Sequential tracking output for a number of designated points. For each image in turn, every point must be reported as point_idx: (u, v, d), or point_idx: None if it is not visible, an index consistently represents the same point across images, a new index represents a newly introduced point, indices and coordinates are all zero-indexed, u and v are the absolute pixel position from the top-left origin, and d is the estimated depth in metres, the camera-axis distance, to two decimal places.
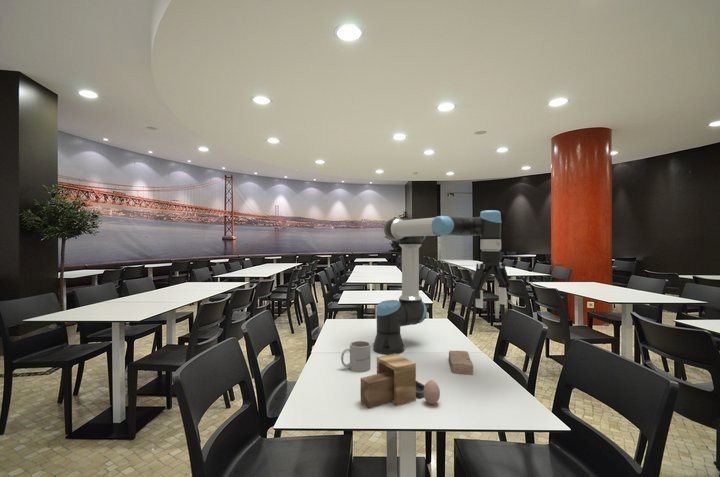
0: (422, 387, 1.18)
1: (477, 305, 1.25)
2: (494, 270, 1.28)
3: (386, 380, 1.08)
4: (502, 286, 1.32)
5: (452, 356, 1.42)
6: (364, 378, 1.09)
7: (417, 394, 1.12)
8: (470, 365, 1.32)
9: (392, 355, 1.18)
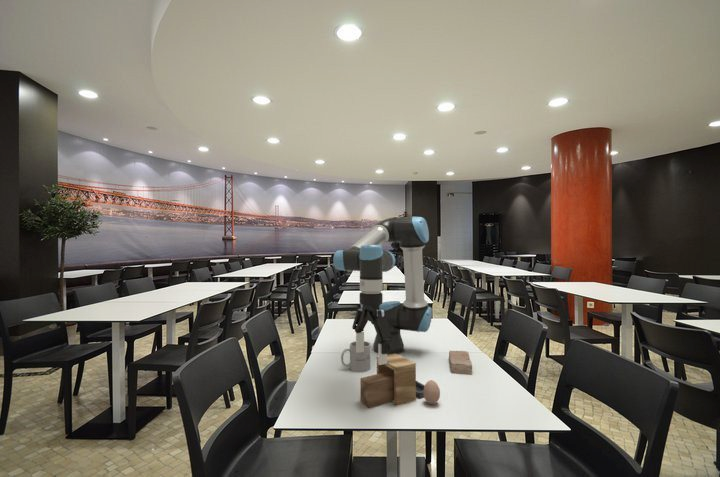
0: (422, 387, 1.18)
1: None
2: None
3: (386, 380, 1.08)
4: None
5: (452, 356, 1.42)
6: (364, 378, 1.09)
7: (417, 394, 1.12)
8: (469, 365, 1.32)
9: (392, 355, 1.18)
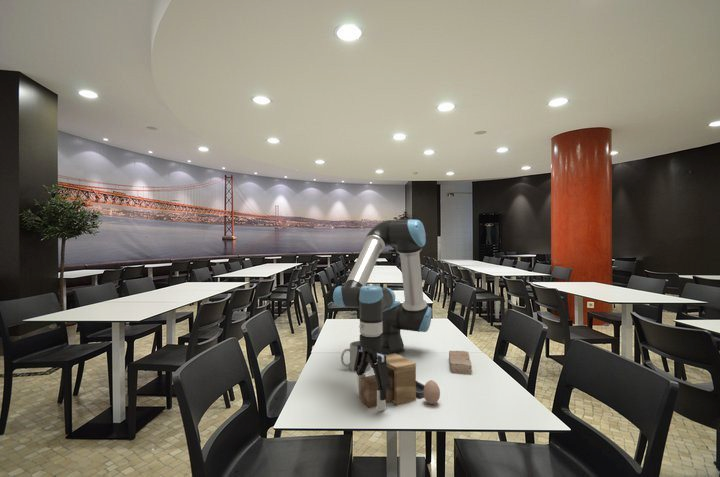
0: (422, 387, 1.18)
1: None
2: None
3: None
4: None
5: (452, 356, 1.42)
6: (364, 378, 1.09)
7: (417, 394, 1.12)
8: (468, 365, 1.32)
9: (392, 355, 1.18)
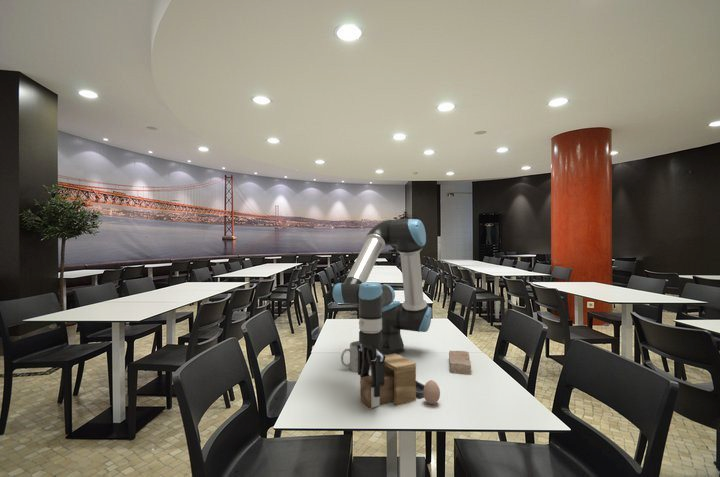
0: (422, 387, 1.18)
1: None
2: None
3: (386, 380, 1.08)
4: None
5: (451, 356, 1.42)
6: (364, 378, 1.09)
7: (417, 394, 1.12)
8: (468, 365, 1.32)
9: (392, 355, 1.18)
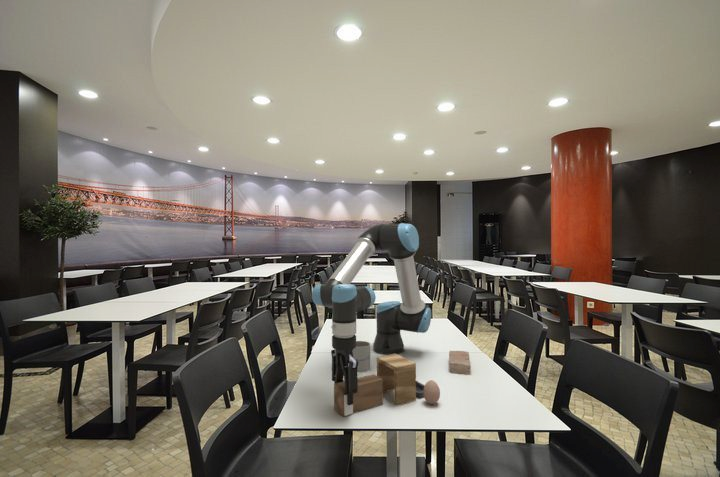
0: (422, 387, 1.18)
1: None
2: None
3: (361, 386, 1.03)
4: None
5: (451, 356, 1.42)
6: (338, 384, 1.04)
7: (417, 394, 1.12)
8: (467, 365, 1.32)
9: (392, 355, 1.18)
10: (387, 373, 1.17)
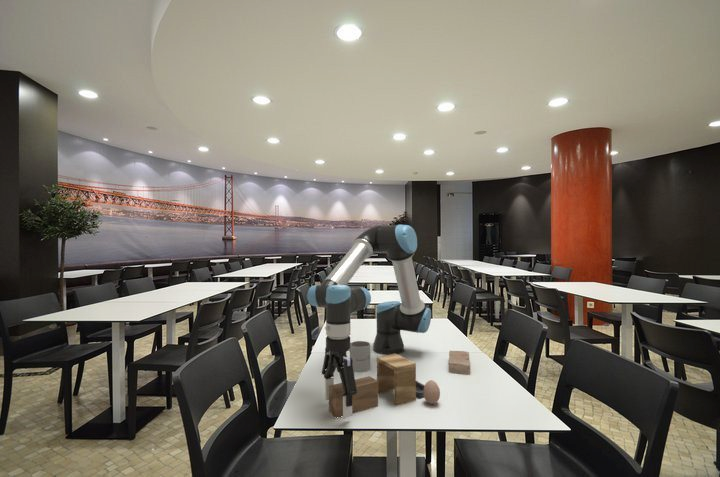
0: (422, 387, 1.18)
1: None
2: None
3: (356, 388, 1.02)
4: None
5: (451, 356, 1.42)
6: (332, 386, 1.03)
7: (417, 394, 1.12)
8: (466, 365, 1.32)
9: (392, 355, 1.18)
10: (387, 373, 1.17)
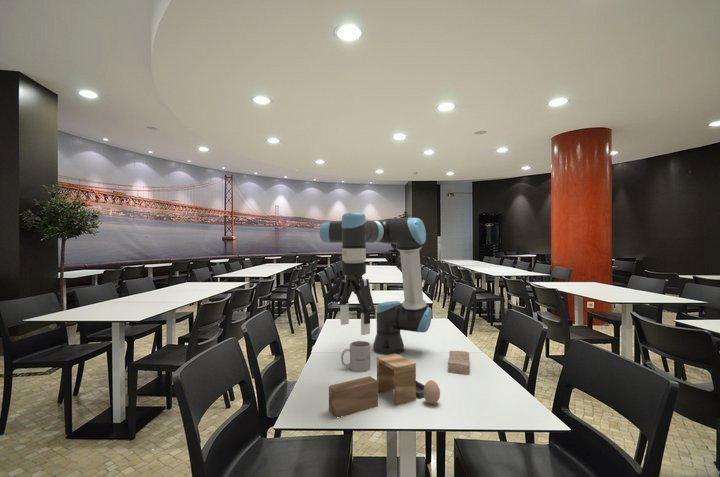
0: (422, 387, 1.18)
1: None
2: None
3: (356, 388, 1.02)
4: None
5: (451, 356, 1.42)
6: (332, 386, 1.03)
7: (417, 394, 1.12)
8: (466, 365, 1.32)
9: (392, 355, 1.18)
10: (387, 373, 1.17)
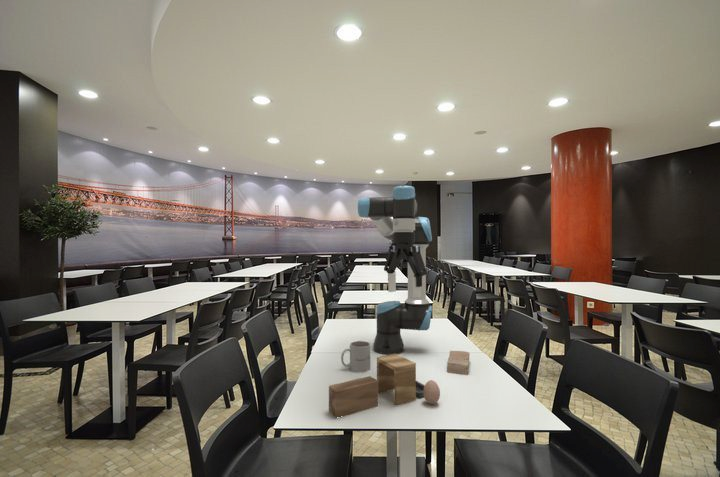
0: (422, 387, 1.18)
1: None
2: (402, 254, 1.12)
3: (356, 388, 1.02)
4: None
5: (451, 356, 1.42)
6: (332, 386, 1.03)
7: (417, 394, 1.12)
8: (465, 365, 1.32)
9: (392, 355, 1.18)
10: (387, 373, 1.17)
